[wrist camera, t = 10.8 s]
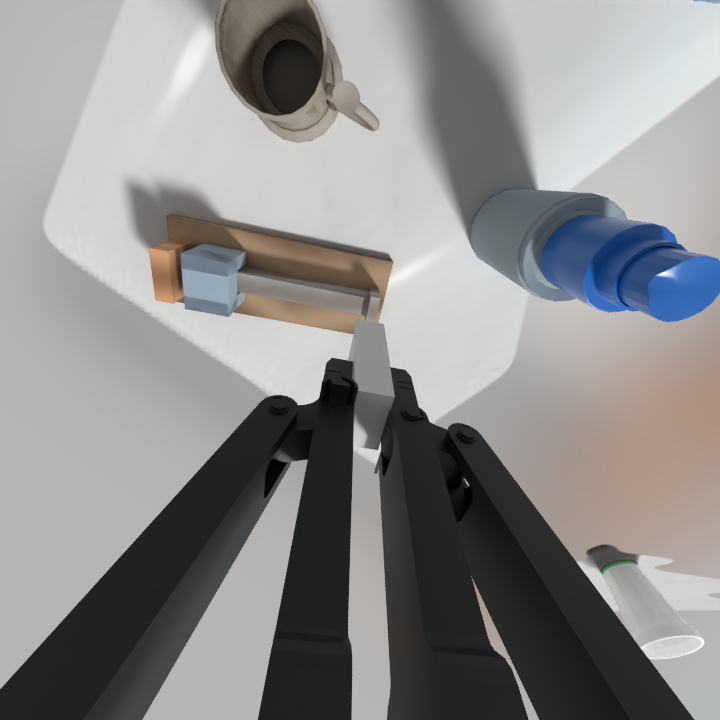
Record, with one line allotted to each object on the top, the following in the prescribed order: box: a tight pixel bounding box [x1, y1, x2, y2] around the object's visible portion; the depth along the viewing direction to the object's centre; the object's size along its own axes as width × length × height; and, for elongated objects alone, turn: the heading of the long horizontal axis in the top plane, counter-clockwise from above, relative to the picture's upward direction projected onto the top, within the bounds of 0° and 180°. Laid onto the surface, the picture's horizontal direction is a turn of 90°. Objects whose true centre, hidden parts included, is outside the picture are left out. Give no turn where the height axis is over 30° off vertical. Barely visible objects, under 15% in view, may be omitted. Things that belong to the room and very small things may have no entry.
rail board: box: [149, 215, 393, 334], centre depth 39 cm, size 11×28×7 cm, turn 79°
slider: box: [180, 244, 246, 317], centre depth 38 cm, size 6×5×6 cm
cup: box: [602, 561, 704, 659], centre depth 72 cm, size 12×12×15 cm
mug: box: [215, 0, 379, 143], centre depth 27 cm, size 14×10×12 cm
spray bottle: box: [470, 189, 720, 322], centre depth 28 cm, size 9×9×25 cm
